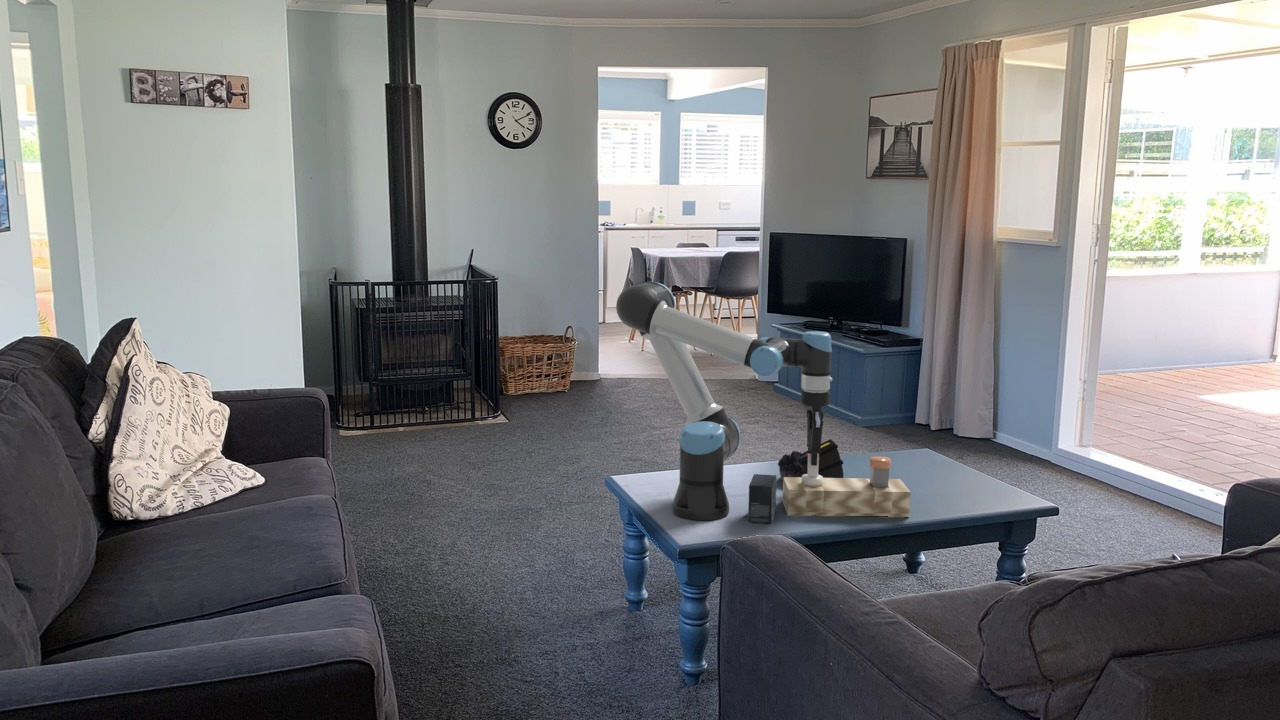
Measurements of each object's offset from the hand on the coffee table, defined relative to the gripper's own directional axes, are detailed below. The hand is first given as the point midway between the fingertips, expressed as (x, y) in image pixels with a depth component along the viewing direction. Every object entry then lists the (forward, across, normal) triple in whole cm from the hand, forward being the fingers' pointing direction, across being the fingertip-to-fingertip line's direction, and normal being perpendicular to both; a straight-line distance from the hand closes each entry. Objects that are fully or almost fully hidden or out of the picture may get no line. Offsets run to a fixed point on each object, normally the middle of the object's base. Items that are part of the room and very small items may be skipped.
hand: (812, 475), depth 261 cm
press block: (+9, 0, -9) cm, 13 cm away
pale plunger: (+8, 0, 0) cm, 8 cm away
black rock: (+10, +27, -1) cm, 29 cm away
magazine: (+10, +16, -5) cm, 19 cm away
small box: (+10, -8, +14) cm, 19 cm away
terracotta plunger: (+3, 0, -18) cm, 18 cm away
